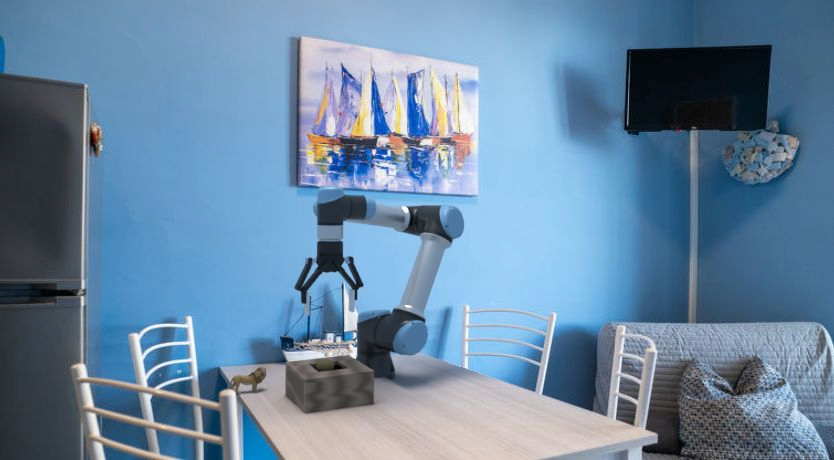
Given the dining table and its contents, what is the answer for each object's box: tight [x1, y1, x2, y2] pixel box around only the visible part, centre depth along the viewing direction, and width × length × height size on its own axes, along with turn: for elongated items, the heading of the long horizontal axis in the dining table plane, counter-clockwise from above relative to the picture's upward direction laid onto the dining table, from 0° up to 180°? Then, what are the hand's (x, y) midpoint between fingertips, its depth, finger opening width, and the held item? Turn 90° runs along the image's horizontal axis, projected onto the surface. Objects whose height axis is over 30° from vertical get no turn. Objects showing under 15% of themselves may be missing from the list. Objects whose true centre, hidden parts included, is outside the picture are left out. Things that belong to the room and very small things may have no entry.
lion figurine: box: [228, 366, 267, 395], centre depth 166 cm, size 12×4×7 cm, turn 117°
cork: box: [316, 359, 334, 372], centre depth 159 cm, size 6×6×11 cm
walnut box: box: [284, 354, 375, 414], centre depth 159 cm, size 20×20×10 cm
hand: (329, 313), depth 159 cm, fingers open, 13 cm apart
